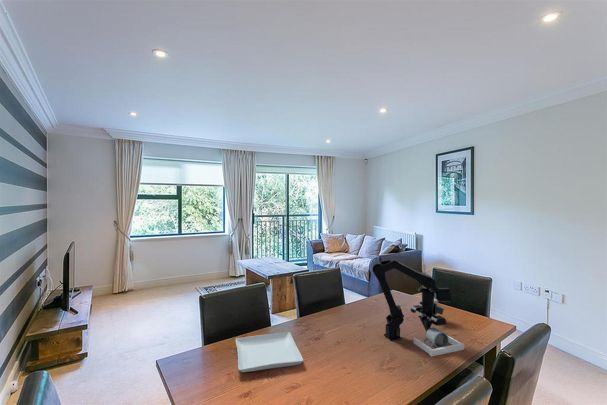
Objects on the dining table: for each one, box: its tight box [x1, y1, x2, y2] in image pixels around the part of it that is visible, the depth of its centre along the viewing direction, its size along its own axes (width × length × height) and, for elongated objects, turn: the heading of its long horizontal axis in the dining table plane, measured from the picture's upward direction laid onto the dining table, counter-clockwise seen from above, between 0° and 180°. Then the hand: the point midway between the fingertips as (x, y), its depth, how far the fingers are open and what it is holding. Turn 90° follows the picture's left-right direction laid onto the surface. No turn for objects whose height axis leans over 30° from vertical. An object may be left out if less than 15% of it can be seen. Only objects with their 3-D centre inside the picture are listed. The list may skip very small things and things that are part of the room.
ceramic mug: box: [421, 326, 449, 348], centre depth 142 cm, size 11×8×8 cm
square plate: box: [235, 331, 304, 373], centre depth 133 cm, size 27×27×4 cm
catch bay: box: [413, 335, 465, 357], centre depth 141 cm, size 19×13×2 cm, turn 109°
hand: (427, 331), depth 148 cm, fingers closed
